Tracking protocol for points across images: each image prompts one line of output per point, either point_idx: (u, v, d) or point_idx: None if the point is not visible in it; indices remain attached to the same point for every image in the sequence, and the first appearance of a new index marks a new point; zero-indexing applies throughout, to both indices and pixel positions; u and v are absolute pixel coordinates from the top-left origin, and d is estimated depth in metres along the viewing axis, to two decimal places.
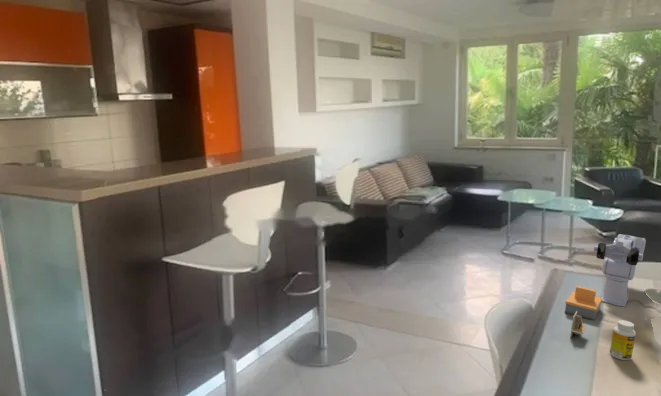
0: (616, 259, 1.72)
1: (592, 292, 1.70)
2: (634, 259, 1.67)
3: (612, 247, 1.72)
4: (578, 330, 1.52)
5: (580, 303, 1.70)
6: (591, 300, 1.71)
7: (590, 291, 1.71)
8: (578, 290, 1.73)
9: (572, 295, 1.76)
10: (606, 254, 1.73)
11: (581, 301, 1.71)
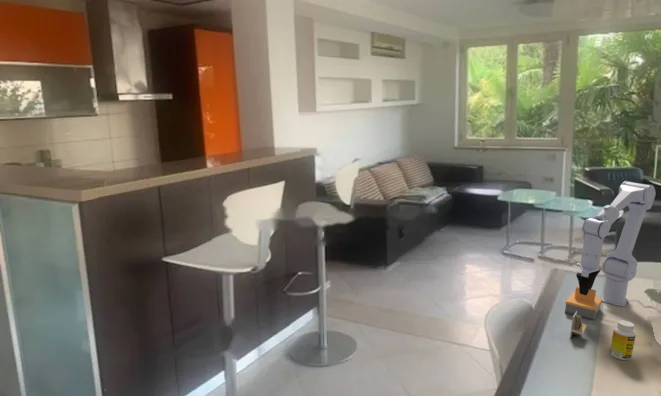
0: None
1: (592, 292, 1.70)
2: None
3: None
4: (578, 330, 1.52)
5: (580, 303, 1.70)
6: (591, 300, 1.71)
7: (590, 291, 1.71)
8: (578, 290, 1.73)
9: (572, 295, 1.76)
10: None
11: (581, 301, 1.71)
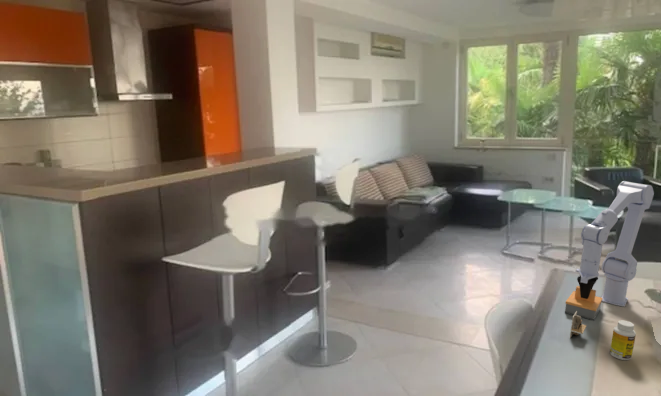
0: None
1: (592, 292, 1.70)
2: None
3: None
4: (578, 330, 1.52)
5: (580, 303, 1.70)
6: (591, 300, 1.71)
7: (590, 291, 1.71)
8: (578, 290, 1.73)
9: (572, 295, 1.76)
10: None
11: (581, 301, 1.71)
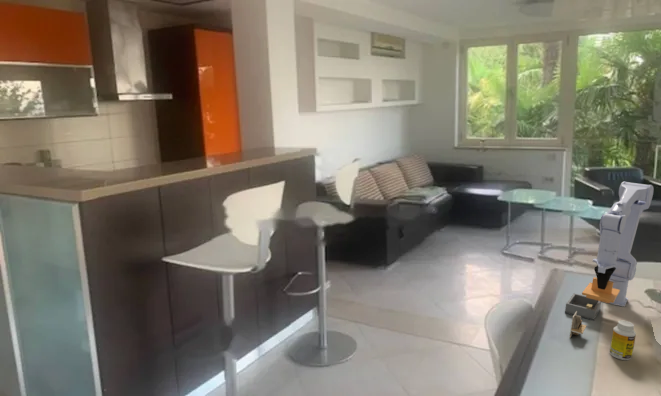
0: None
1: (609, 283, 1.67)
2: None
3: None
4: (578, 330, 1.52)
5: (597, 294, 1.67)
6: (608, 292, 1.68)
7: None
8: (595, 281, 1.70)
9: (588, 286, 1.73)
10: None
11: (598, 292, 1.68)
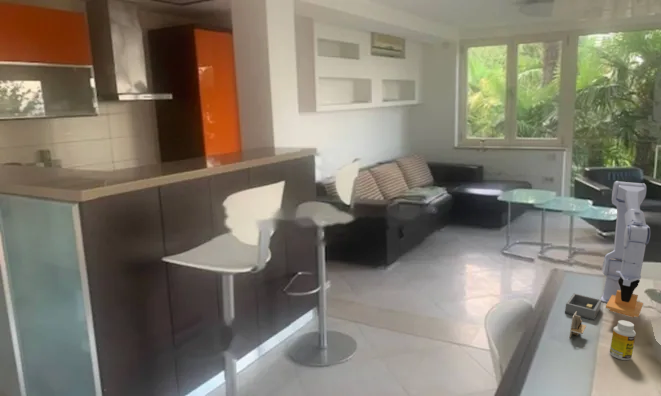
0: None
1: (634, 297, 1.63)
2: (630, 284, 1.62)
3: None
4: (577, 330, 1.52)
5: (621, 307, 1.63)
6: (632, 305, 1.64)
7: (632, 296, 1.64)
8: (619, 294, 1.66)
9: (611, 299, 1.69)
10: None
11: (622, 306, 1.64)
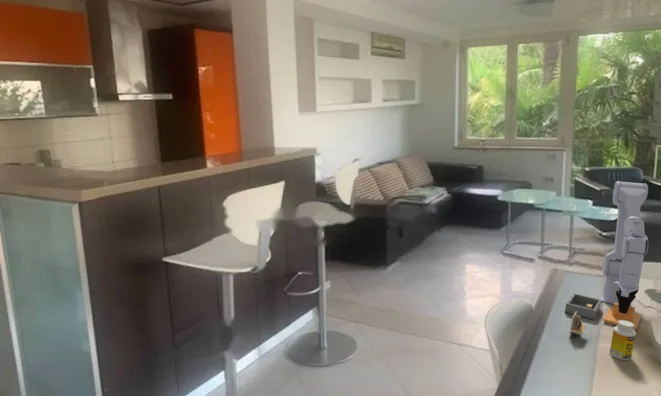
0: None
1: (631, 309, 1.64)
2: (628, 296, 1.62)
3: None
4: (577, 330, 1.52)
5: (619, 320, 1.64)
6: (630, 318, 1.65)
7: (629, 308, 1.65)
8: (616, 307, 1.67)
9: (609, 312, 1.70)
10: None
11: (619, 319, 1.65)
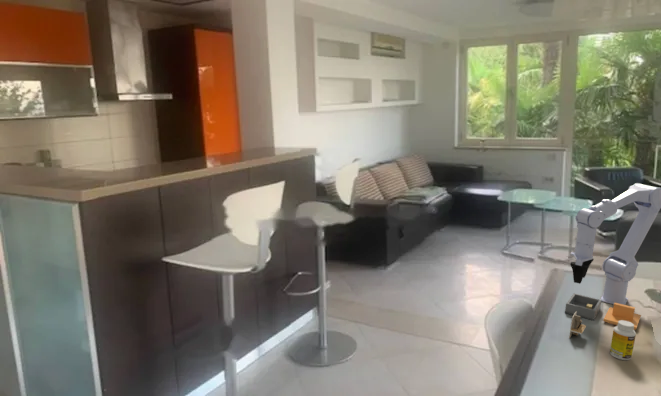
0: None
1: (631, 309, 1.64)
2: (581, 266, 1.71)
3: None
4: (577, 330, 1.52)
5: (619, 320, 1.64)
6: (630, 318, 1.65)
7: (629, 308, 1.65)
8: (616, 307, 1.67)
9: (609, 312, 1.70)
10: None
11: (619, 319, 1.65)
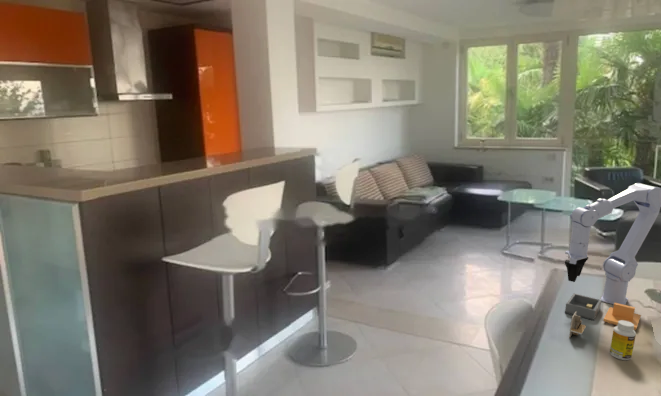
0: None
1: (631, 309, 1.64)
2: None
3: None
4: (577, 330, 1.52)
5: (619, 320, 1.64)
6: (630, 318, 1.65)
7: (629, 308, 1.65)
8: (616, 307, 1.67)
9: (609, 312, 1.70)
10: None
11: (619, 319, 1.65)
